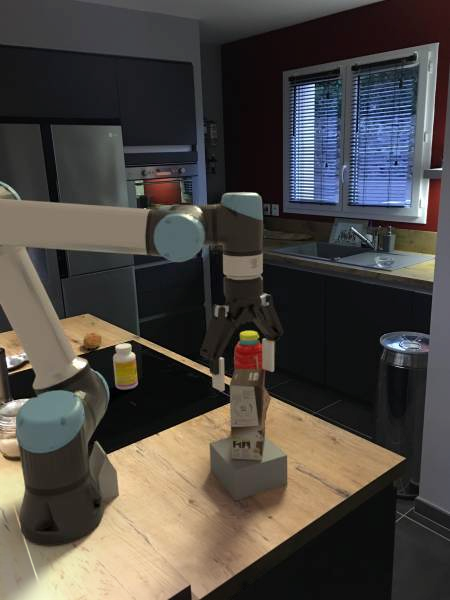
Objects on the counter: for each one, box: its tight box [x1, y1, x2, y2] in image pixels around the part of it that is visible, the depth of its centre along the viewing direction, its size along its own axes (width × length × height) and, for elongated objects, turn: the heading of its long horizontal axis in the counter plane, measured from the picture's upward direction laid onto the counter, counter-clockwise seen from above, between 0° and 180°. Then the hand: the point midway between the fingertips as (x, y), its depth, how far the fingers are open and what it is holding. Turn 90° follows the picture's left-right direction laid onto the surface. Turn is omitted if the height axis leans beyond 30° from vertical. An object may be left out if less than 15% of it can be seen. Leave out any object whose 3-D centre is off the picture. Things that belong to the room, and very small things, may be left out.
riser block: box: [209, 434, 288, 501], centre depth 110 cm, size 12×12×7 cm
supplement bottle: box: [112, 342, 139, 391], centre depth 157 cm, size 7×7×13 cm
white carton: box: [89, 440, 120, 502], centre depth 107 cm, size 4×7×10 cm, turn 31°
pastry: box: [82, 332, 103, 349], centre depth 194 cm, size 9×7×4 cm
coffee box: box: [229, 369, 266, 460], centre depth 107 cm, size 9×6×16 cm
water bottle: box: [233, 330, 272, 421], centre depth 128 cm, size 12×8×25 cm, turn 19°
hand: (244, 379), depth 105 cm, fingers open, 13 cm apart
